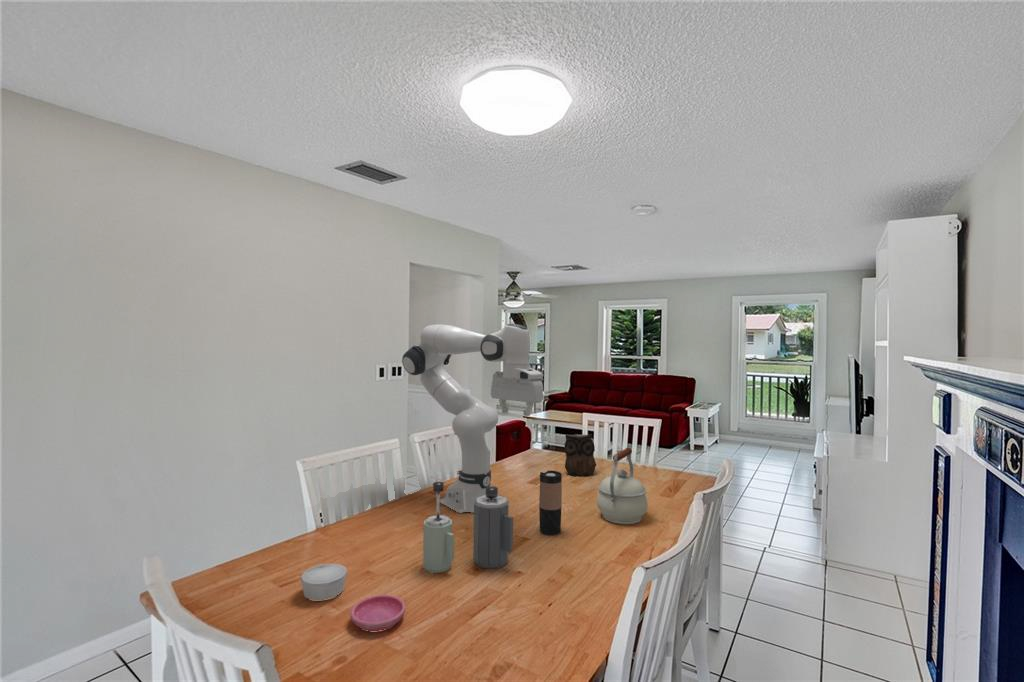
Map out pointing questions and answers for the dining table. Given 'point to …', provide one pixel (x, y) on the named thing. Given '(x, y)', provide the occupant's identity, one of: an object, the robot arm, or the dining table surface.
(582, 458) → the owl
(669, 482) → the dining table surface
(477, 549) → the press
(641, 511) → the kettle
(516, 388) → the robot arm
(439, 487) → the plunger small
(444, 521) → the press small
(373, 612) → the saucer
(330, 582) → the ramekin
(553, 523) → the travel mug
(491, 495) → the plunger
